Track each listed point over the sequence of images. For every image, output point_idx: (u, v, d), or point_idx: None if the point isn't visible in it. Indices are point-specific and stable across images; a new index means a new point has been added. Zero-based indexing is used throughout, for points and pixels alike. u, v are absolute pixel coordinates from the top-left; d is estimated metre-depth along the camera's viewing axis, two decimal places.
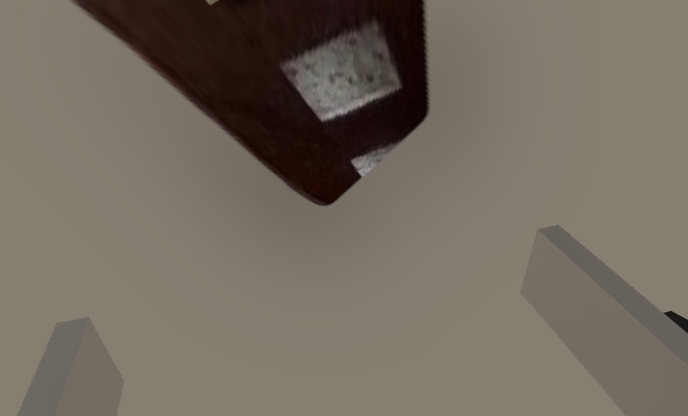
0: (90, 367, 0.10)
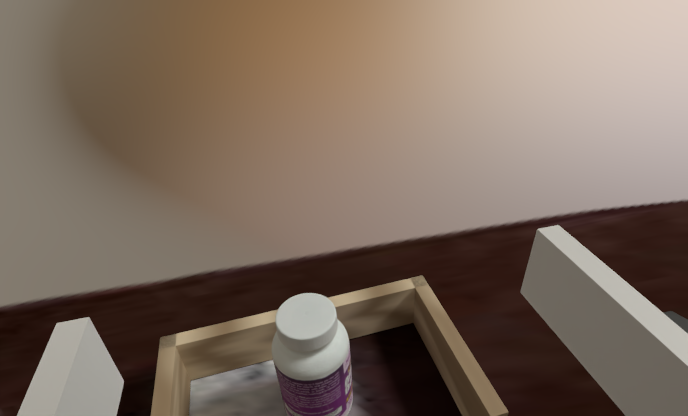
0: (90, 367, 0.10)
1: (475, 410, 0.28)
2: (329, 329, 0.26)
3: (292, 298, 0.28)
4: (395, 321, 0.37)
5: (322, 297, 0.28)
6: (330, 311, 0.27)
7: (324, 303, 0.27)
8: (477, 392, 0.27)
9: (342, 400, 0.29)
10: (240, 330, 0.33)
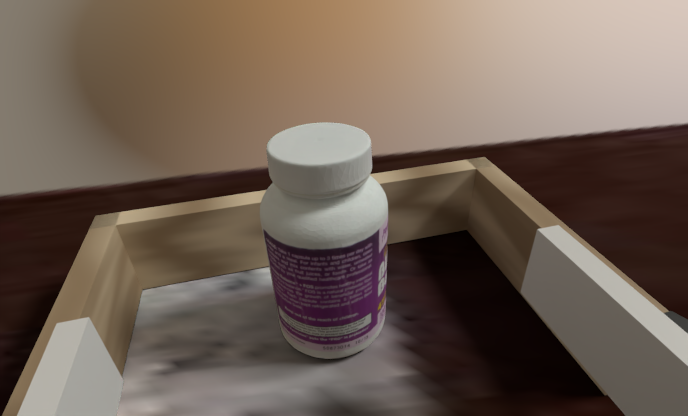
0: (90, 367, 0.10)
1: None
2: (359, 156, 0.15)
3: (296, 127, 0.17)
4: (442, 224, 0.26)
5: (346, 126, 0.17)
6: (361, 138, 0.16)
7: (350, 130, 0.16)
8: None
9: (373, 303, 0.18)
10: (216, 210, 0.22)
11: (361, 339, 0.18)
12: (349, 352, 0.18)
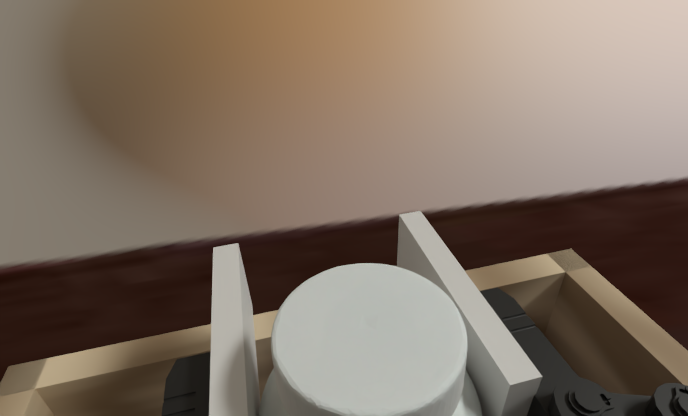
0: (243, 282, 0.12)
1: None
2: (456, 379, 0.07)
3: (322, 276, 0.10)
4: None
5: (409, 275, 0.10)
6: (446, 317, 0.08)
7: (420, 292, 0.09)
8: None
9: None
10: (192, 354, 0.14)
11: None
12: None
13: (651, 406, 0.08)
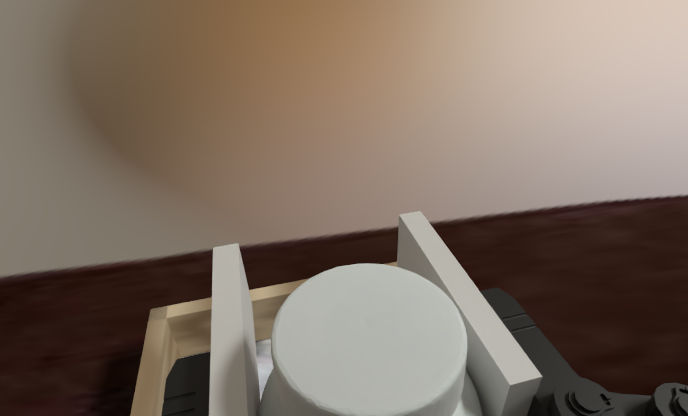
0: (243, 282, 0.12)
1: None
2: (456, 380, 0.07)
3: (322, 276, 0.10)
4: None
5: (409, 275, 0.10)
6: (446, 317, 0.08)
7: (420, 292, 0.09)
8: None
9: None
10: None
11: None
12: None
13: (651, 406, 0.08)
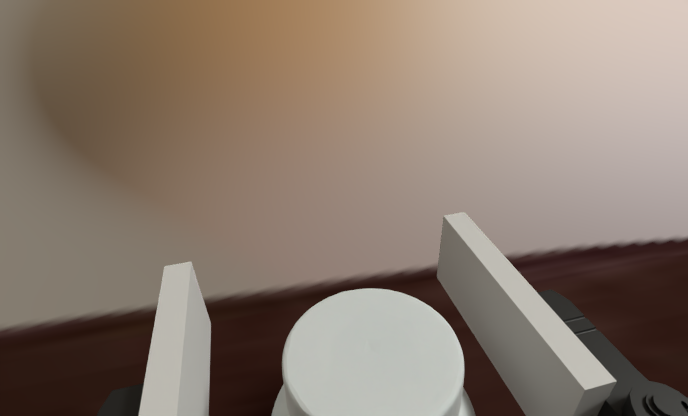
0: (195, 303, 0.12)
1: None
2: (453, 403, 0.08)
3: (328, 301, 0.10)
4: None
5: (410, 300, 0.10)
6: (444, 342, 0.09)
7: (420, 317, 0.10)
8: None
9: None
10: None
11: None
12: None
13: None
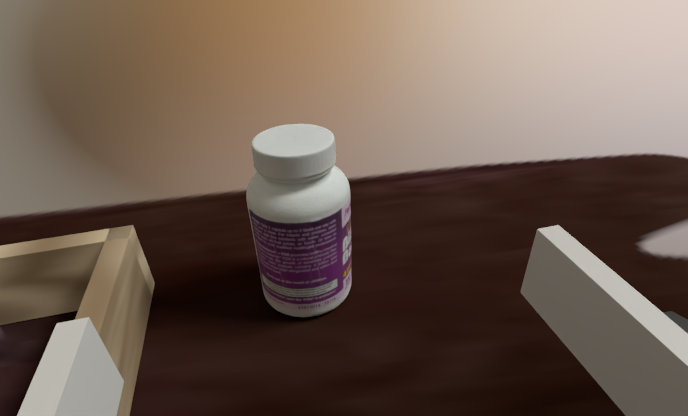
0: (90, 367, 0.10)
1: None
2: (324, 150, 0.19)
3: (276, 127, 0.21)
4: None
5: (316, 126, 0.21)
6: (327, 136, 0.20)
7: (318, 130, 0.20)
8: None
9: (339, 270, 0.22)
10: None
11: (329, 300, 0.22)
12: (320, 311, 0.23)
13: None
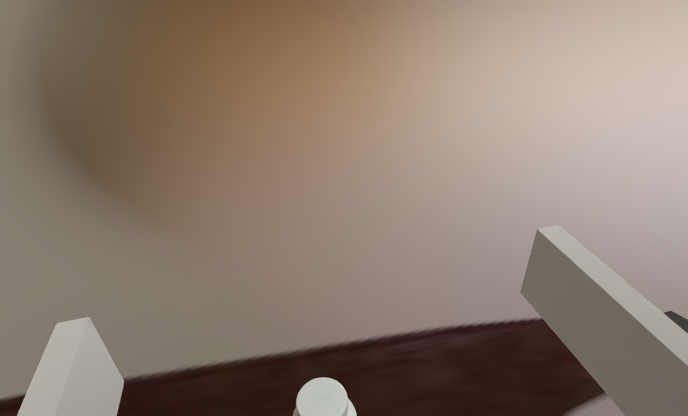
0: (90, 367, 0.10)
1: None
2: (341, 415, 0.31)
3: (310, 382, 0.33)
4: None
5: (335, 382, 0.33)
6: (342, 397, 0.32)
7: (337, 388, 0.32)
8: None
9: None
10: None
11: None
12: None
13: None
